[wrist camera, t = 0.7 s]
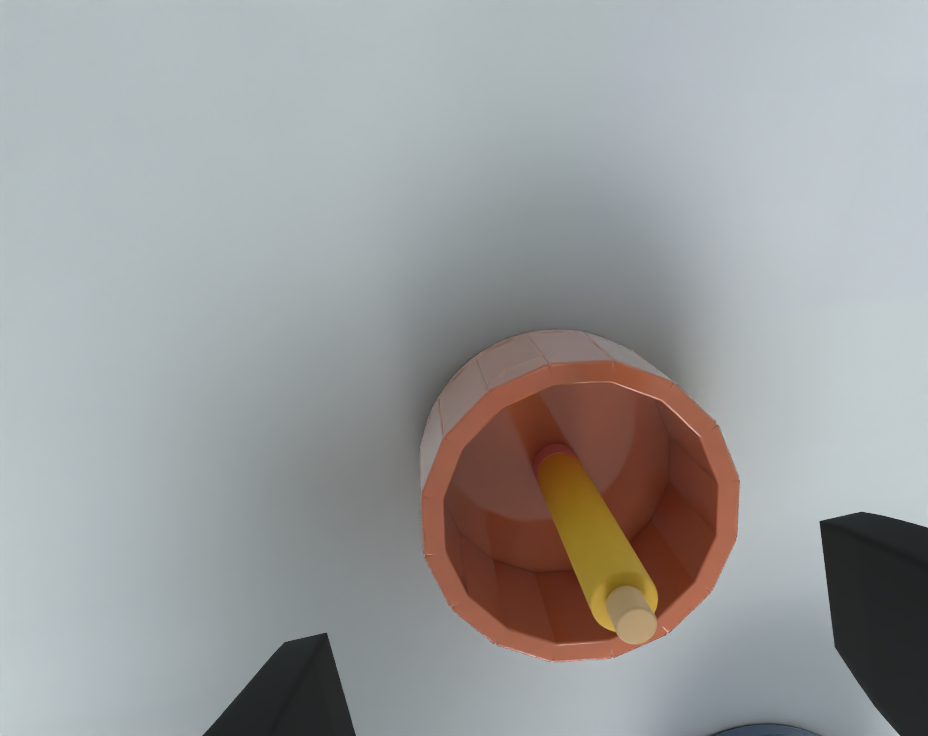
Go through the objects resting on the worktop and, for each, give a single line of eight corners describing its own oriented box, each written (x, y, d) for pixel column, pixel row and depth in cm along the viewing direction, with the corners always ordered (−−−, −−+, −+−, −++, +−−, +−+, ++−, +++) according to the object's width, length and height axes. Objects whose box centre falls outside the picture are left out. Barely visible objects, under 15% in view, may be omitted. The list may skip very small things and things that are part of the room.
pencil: (577, 485, 21) (672, 657, 14) (532, 487, 21) (600, 661, 14) (578, 441, 21) (673, 590, 13) (531, 443, 21) (601, 595, 13)
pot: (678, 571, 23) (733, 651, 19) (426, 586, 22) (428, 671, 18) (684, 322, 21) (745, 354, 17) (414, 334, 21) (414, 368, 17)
